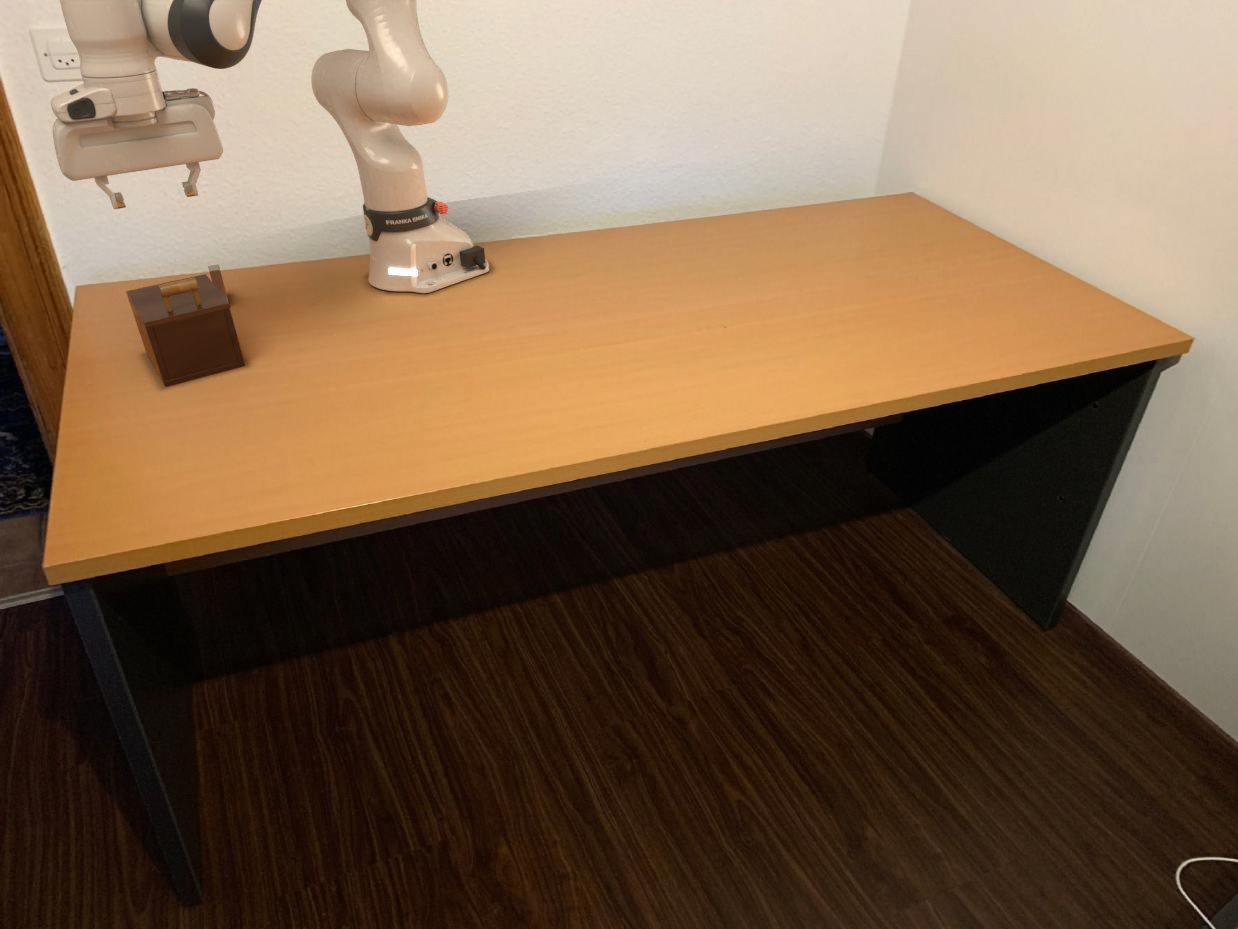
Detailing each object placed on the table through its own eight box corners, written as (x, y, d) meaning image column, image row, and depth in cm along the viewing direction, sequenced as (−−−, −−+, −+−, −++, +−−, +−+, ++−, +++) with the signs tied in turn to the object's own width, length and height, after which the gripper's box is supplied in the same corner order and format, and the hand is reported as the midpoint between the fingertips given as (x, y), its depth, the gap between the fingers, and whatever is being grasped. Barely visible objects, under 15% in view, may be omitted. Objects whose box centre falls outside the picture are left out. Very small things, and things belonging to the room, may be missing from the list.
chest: (245, 365, 142) (229, 306, 137) (165, 387, 137) (145, 326, 131) (222, 335, 151) (207, 278, 146) (146, 354, 146) (127, 296, 141)
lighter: (216, 297, 165) (205, 254, 160) (226, 295, 165) (215, 253, 161) (220, 311, 159) (208, 268, 155) (230, 310, 160) (219, 266, 156)
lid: (230, 307, 136) (222, 276, 133) (146, 327, 131) (135, 295, 128) (206, 278, 146) (198, 248, 143) (127, 295, 140) (117, 265, 138)
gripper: (203, 82, 126) (227, 183, 134) (36, 101, 117) (72, 208, 124) (214, 89, 122) (239, 193, 130) (42, 110, 113) (79, 220, 120)
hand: (156, 201), depth 127 cm, fingers open, 8 cm apart
